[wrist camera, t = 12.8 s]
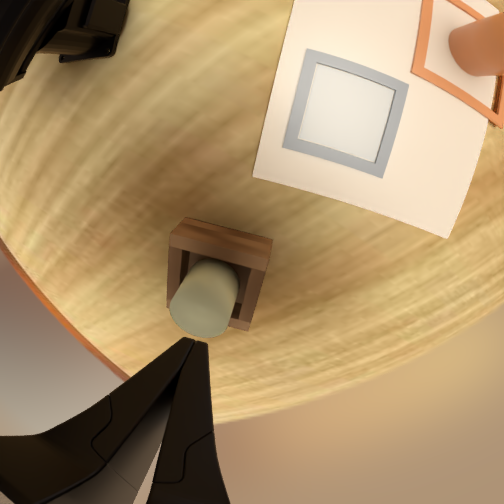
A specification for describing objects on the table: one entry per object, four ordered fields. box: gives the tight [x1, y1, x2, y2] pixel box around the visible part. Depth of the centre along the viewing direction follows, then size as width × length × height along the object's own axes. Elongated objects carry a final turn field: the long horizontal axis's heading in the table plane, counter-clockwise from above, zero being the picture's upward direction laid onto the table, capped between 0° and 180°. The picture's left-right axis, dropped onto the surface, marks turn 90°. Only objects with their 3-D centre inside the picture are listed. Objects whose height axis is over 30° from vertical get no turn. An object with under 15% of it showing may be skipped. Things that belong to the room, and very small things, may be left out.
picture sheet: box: [252, 0, 504, 239], centre depth 13 cm, size 18×22×1 cm
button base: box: [167, 217, 273, 331], centre depth 22 cm, size 7×7×3 cm
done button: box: [170, 258, 240, 338], centre depth 19 cm, size 4×4×4 cm
